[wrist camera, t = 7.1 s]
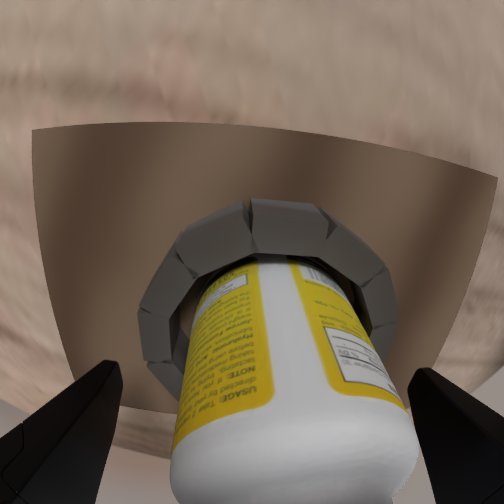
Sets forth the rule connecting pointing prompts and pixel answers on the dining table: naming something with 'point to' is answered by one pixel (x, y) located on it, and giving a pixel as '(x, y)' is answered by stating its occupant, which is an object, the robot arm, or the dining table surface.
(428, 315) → the socket board
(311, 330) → the supplement bottle
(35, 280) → the dining table surface
